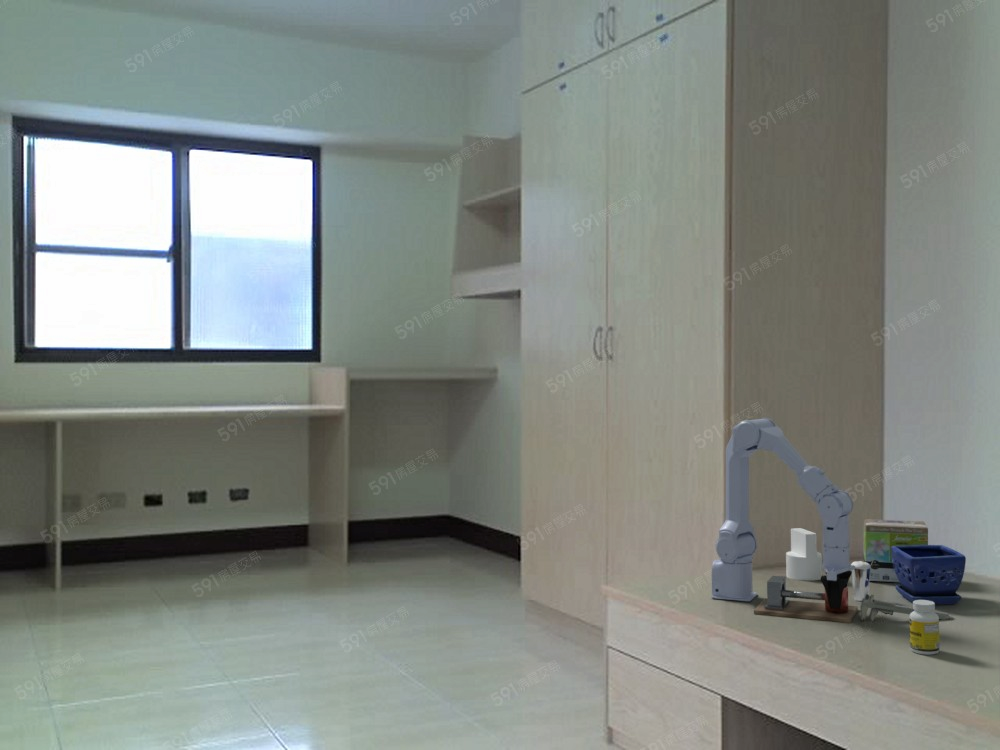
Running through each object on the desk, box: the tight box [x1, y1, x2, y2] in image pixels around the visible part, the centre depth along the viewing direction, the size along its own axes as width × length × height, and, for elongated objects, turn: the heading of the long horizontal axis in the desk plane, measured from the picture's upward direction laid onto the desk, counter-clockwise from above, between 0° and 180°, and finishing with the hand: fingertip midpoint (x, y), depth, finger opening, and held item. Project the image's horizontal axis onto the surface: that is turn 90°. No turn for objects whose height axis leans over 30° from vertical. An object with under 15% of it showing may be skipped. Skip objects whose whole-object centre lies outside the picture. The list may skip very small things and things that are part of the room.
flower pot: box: [891, 544, 967, 606], centre depth 242 cm, size 13×13×12 cm
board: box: [753, 597, 859, 624], centre depth 234 cm, size 21×12×1 cm, turn 64°
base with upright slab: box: [785, 527, 823, 582], centre depth 269 cm, size 9×9×12 cm
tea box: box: [863, 518, 929, 583], centre depth 264 cm, size 15×10×15 cm, turn 73°
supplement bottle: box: [909, 600, 940, 656], centre depth 202 cm, size 5×5×10 cm
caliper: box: [860, 594, 955, 623], centre depth 225 cm, size 20×1×6 cm, turn 91°
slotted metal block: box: [765, 575, 789, 611], centre depth 237 cm, size 4×8×6 cm, turn 154°
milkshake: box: [850, 559, 874, 602], centre depth 243 cm, size 4×5×10 cm
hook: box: [782, 586, 849, 613], centre depth 233 cm, size 14×5×6 cm, turn 64°
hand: (836, 605), depth 231 cm, fingers closed on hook, 5 cm apart
